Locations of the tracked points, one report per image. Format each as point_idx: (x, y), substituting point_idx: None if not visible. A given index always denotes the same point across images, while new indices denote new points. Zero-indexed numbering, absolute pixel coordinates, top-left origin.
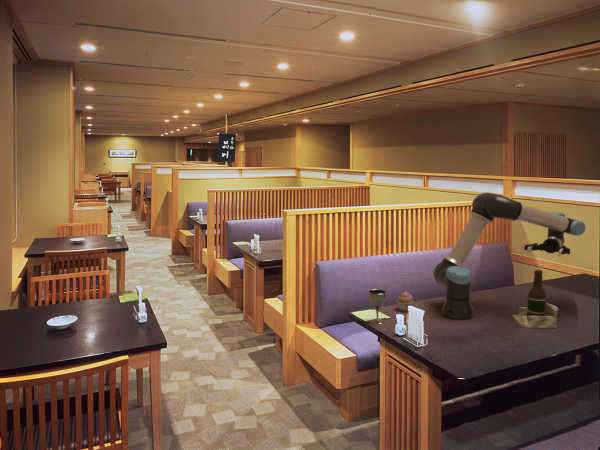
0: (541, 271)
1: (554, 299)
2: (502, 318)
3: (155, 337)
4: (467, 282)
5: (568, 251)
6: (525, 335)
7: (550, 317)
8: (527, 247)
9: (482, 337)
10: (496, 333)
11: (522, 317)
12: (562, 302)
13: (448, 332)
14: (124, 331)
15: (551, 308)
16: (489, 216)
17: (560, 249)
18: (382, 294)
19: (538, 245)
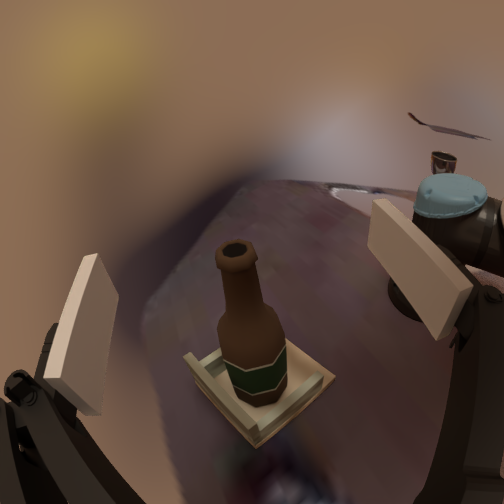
0: (218, 248)
1: None
2: (346, 350)
3: (443, 132)
4: (415, 208)
5: (15, 409)
6: None
7: (205, 358)
8: (459, 265)
9: (298, 245)
10: (292, 271)
11: (301, 377)
12: None
13: (350, 228)
14: (458, 131)
15: (206, 370)
16: None
17: (71, 325)
18: (432, 155)
19: (471, 419)
